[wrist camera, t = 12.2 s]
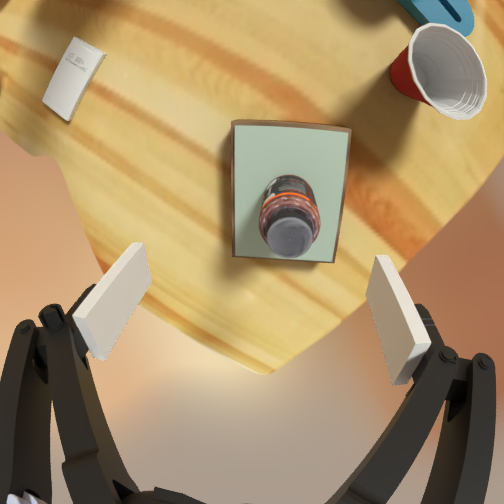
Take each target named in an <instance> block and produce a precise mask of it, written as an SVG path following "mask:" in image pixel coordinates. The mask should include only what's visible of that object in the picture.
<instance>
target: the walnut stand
mask: <svg viewBox="0 0 504 504" xmlns="http://www.w3.org/2000/svg"><path fill="white" fill-rule="evenodd" d="M351 133H352V129H350V128H347V127H344V126H337V125H328V124H318V123H307V122H293V121H276V120H234V121H231V205H232V257H244V258H259V259H274V260H289V261H305V262H321V263H334V262H335V256H336V251H337V245H338V239H339V233H340V226H341V220H342V213H343V206H344V198H345V191H346V182H347V174H348V165H349V155H350V144H351ZM282 175H296V176H299V177H301V178H303V179H304V180H305V181H306V182H307V183H308V184H309V185H310V187H311V189H312V190H313V193H314V197H315V200H316V204H317V207H318V211H319V215H320V221H321V226H320V232H319V235H318V237H317V238H316V240H315V241H314V243H313V244H312V245H311V247H310V248H309V250H308V251H307V252H306V253H305V254H303V255H302V256H299V257H297V258H283V257H280V256H278V255H276V254H275V253H274V252H272V250H271V249H270V248H269V246H268V245H267V244H266V242H265V241H264V240H263V238H262V236H261V234H260V231H259V215H260V211H261V207H262V202H263V198H264V194H265V191H266V188H267V187H268V185H269V184H270V182H271V181H272V180H274V179H275V178H277V177H279V176H282Z"/></svg>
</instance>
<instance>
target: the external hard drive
mask: <svg viewBox="0 0 504 504" xmlns="http://www.w3.org/2000/svg"><path fill="white" fill-rule="evenodd" d="M106 55H107V54H106V53H104V52H102V51H101V50H99V49H97V48H96V47H94V46H91V45H90V44H89V43H87V42H85V41H83V40H82V39H80V38H78V37H73V39H72V41H71V43H70V44H69V46H68V48H67V50H66V51H65V53H64V55H63V57H62V59H61V61H60V63H59V64H58V66H57V68H56V70H55V72H54V75H53V77H52V79H51V81H50V83H49V85H48V87H47V90H46V92H45V94H44V97H43V99H42V102H43V103H45V104H46V105H47V106H48V107H50V108H51V109H52V110H53V111H55V112H56V113H57V114H58V115H60V116H61V117H62V118H64V119H65V120H66V121H71V120H72V118H73V116H74V113H75V111H76V109H77V107H78V105H79V103H80V101H81V99H82V97H83V95H84V93H85V91H86V89H87V87H88V86H89V84H90V82H91V80H92V78H93V76H94V75H95V73H96V71H97V69H98V68H99V66H100V64H101V63H102V61H103V60H104V58H105V56H106Z"/></svg>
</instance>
